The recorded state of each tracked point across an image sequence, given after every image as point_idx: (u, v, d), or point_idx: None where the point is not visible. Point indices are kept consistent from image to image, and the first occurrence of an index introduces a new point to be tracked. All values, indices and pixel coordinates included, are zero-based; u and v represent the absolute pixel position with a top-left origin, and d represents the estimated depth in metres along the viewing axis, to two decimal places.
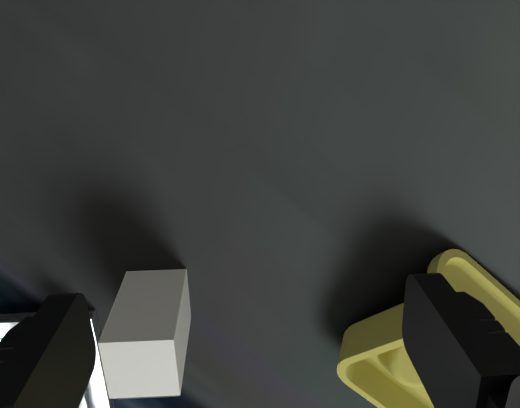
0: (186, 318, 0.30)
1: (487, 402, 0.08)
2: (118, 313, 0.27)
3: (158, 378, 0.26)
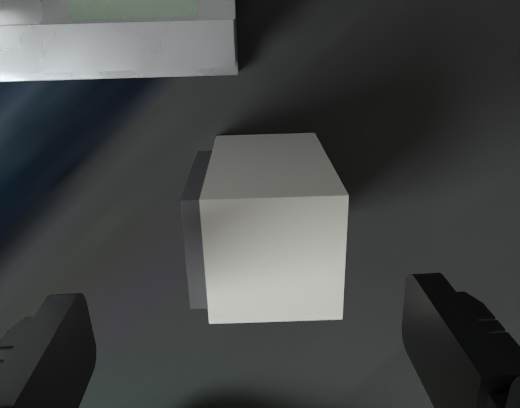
0: None
1: (487, 402, 0.08)
2: None
3: (252, 291, 0.13)
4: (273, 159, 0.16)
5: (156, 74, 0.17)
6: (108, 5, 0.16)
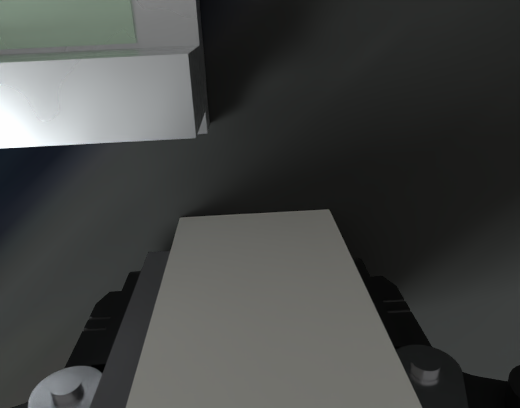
0: None
1: None
2: None
3: None
4: (268, 284, 0.09)
5: None
6: None
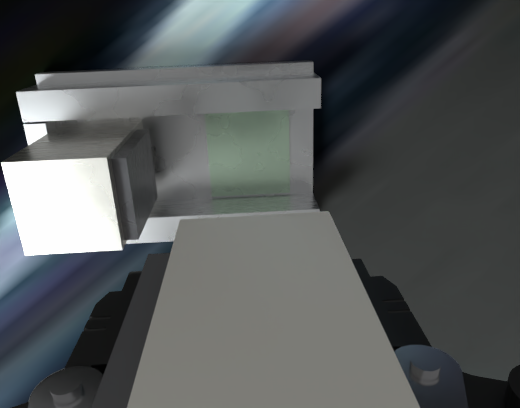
0: None
1: None
2: None
3: None
4: (268, 287, 0.09)
5: None
6: (235, 187, 0.26)
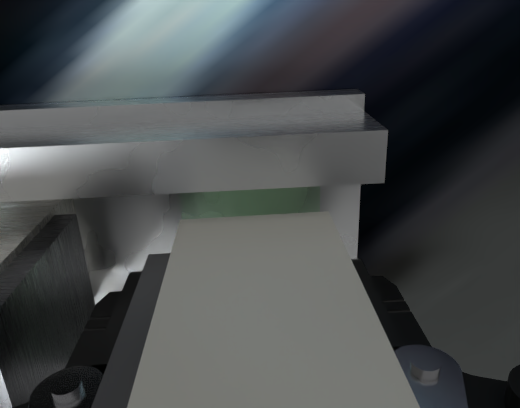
0: None
1: None
2: None
3: None
4: (268, 287, 0.09)
5: None
6: None
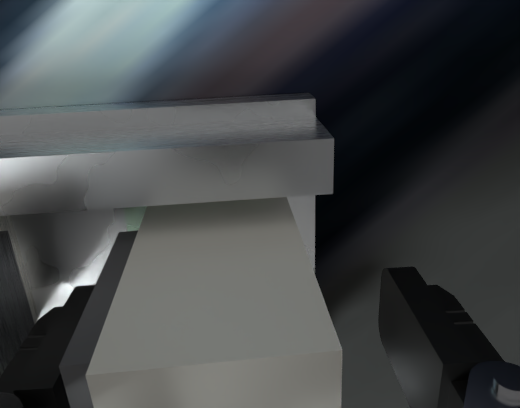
0: None
1: (450, 389, 0.08)
2: None
3: None
4: (222, 254, 0.10)
5: None
6: None
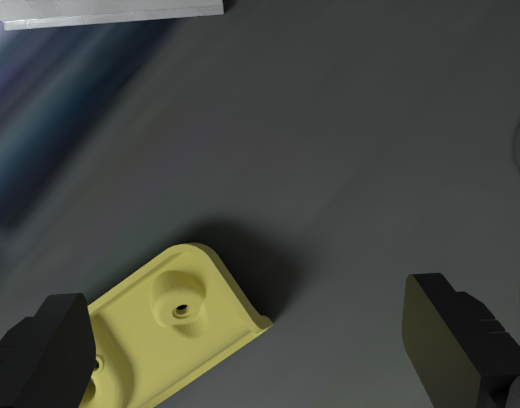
0: None
1: (487, 402, 0.08)
2: None
3: None
4: None
5: (178, 15, 0.30)
6: None
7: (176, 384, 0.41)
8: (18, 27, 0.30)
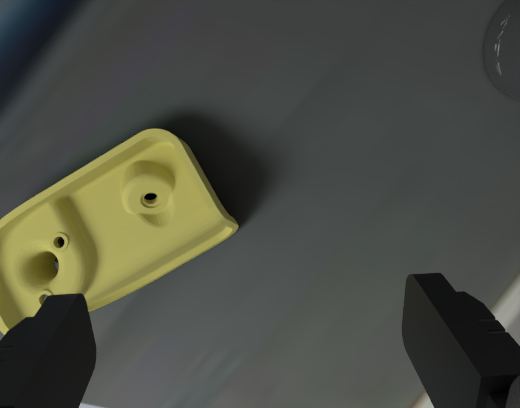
0: None
1: (487, 402, 0.08)
2: None
3: None
4: None
5: None
6: None
7: (139, 280, 0.42)
8: None
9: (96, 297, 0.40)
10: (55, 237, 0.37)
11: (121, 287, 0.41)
